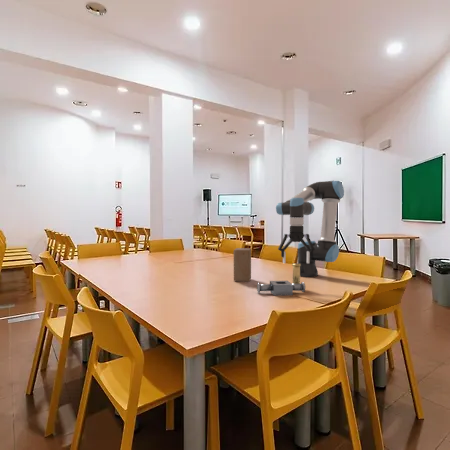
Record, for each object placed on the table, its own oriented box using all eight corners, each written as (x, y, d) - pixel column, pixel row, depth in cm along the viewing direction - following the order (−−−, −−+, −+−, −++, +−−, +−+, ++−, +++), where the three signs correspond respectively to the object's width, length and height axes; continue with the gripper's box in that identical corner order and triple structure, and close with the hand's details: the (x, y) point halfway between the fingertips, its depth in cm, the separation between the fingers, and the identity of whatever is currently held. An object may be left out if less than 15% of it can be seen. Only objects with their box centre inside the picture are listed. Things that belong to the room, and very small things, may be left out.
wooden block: (249, 282, 191) (249, 250, 190) (233, 281, 193) (233, 249, 192) (251, 278, 201) (251, 248, 200) (236, 278, 203) (235, 247, 202)
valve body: (300, 290, 171) (300, 280, 171) (306, 295, 161) (306, 284, 161) (256, 291, 170) (256, 280, 170) (259, 295, 160) (259, 285, 160)
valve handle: (299, 287, 178) (299, 263, 177) (301, 289, 173) (301, 264, 172) (291, 287, 177) (291, 263, 177) (293, 289, 173) (293, 264, 172)
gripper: (316, 225, 178) (315, 261, 179) (273, 225, 177) (272, 262, 177) (320, 225, 171) (320, 264, 171) (276, 225, 169) (275, 264, 170)
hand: (296, 263), depth 174 cm, fingers open, 13 cm apart
